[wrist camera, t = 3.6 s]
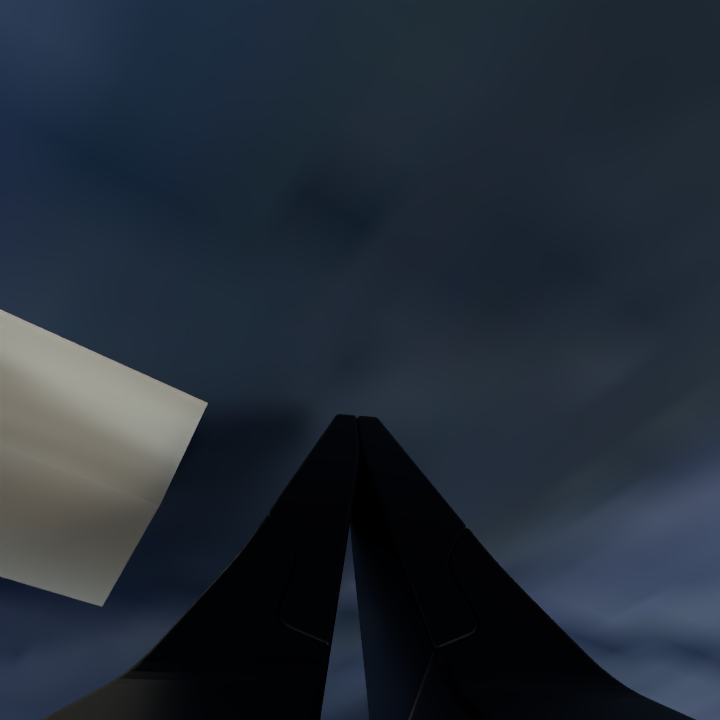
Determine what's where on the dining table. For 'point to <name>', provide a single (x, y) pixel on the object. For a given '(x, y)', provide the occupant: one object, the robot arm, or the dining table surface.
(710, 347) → the dining table surface
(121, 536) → the beige rectangular block
